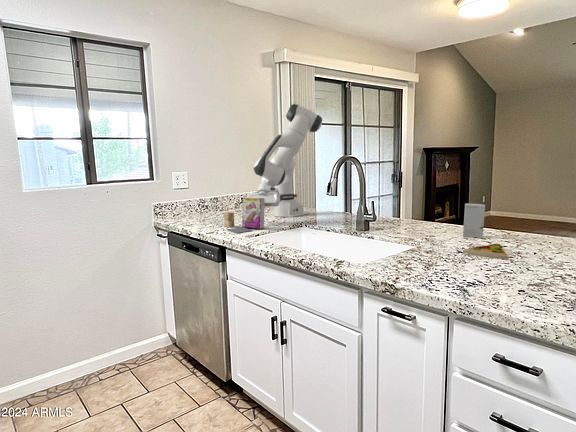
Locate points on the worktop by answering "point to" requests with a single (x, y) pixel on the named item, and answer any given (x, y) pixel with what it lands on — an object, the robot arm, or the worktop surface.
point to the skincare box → (474, 220)
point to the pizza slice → (487, 251)
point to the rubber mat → (239, 230)
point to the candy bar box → (253, 213)
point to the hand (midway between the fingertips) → (258, 211)
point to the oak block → (229, 219)
